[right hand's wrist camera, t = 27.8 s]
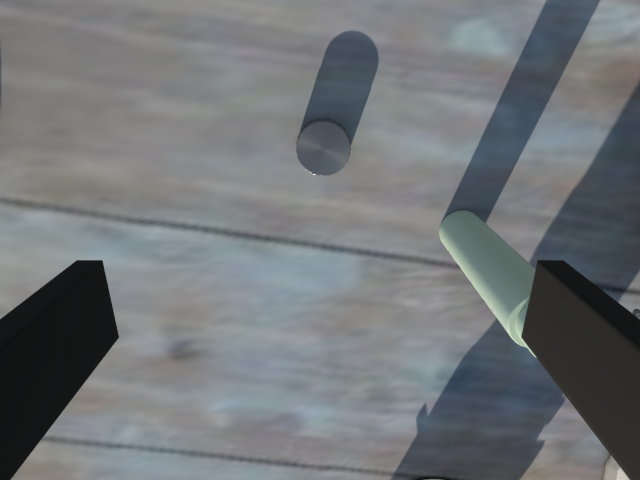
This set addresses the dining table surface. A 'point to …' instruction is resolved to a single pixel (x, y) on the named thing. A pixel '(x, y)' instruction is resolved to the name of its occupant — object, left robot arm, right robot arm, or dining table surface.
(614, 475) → the wall clock
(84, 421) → the dining table surface
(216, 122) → the dining table surface
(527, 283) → the jar
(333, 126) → the lid
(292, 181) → the dining table surface
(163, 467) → the dining table surface
